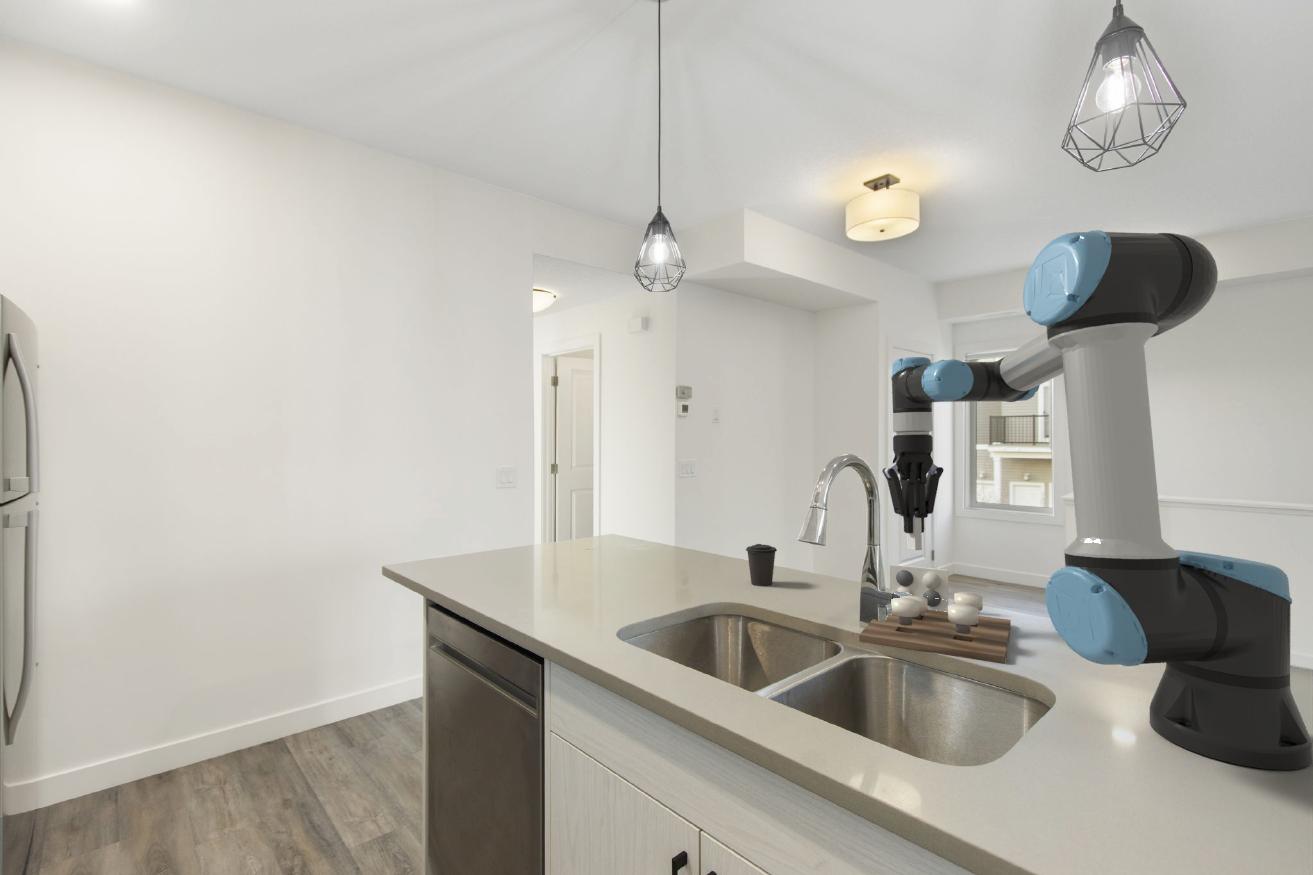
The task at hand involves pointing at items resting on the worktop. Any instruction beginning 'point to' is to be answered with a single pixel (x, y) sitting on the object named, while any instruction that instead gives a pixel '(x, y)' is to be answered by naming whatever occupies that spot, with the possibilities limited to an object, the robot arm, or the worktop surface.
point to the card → (922, 584)
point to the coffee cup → (761, 564)
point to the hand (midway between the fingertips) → (914, 549)
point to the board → (943, 636)
